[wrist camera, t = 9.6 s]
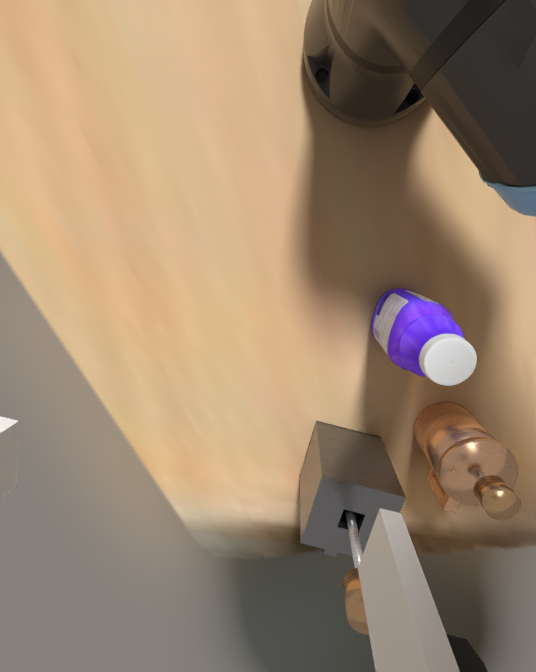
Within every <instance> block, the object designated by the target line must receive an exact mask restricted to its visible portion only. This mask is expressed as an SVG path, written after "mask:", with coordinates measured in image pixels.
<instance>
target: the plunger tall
mask: <svg viewBox="0 0 536 672" xmlns="http://www.w3.org/2000/svg"><path fill="white" fill-rule="evenodd" d="M345 515H346V521H347V526H348V532H349V538H350V543H351V549H352V555H353V560H354V565H355V569H353V570H351V571H349V572H348V573H347V574H346V575H345V576H344V579H343V590H344V597H345V605H346V612H347V620H348V622H349V624H350V626H351V627H352V628H353V629H354V630H356V631H357V632H360V633H362V634H367V635H369V630H368V624H367V618H366V613H365V607H364V601H363V596H362V590H361V584H360V579H359V573H358V566H359V564H360V561H361V558H362V555H363V552H362V547H361V542H360V537H359V533H358V528H357V523H356V518H355V514H354V512H353V511H349V510H345Z"/></svg>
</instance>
